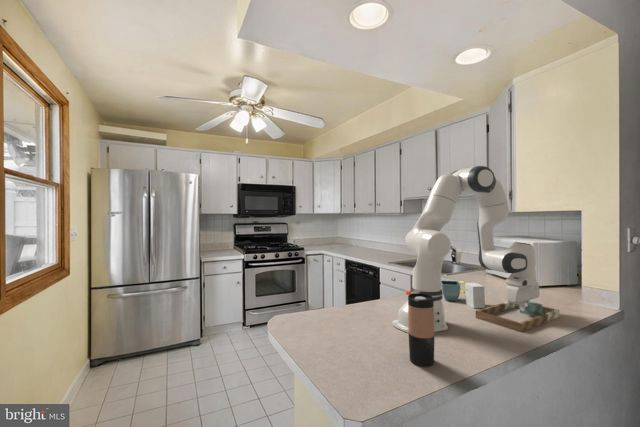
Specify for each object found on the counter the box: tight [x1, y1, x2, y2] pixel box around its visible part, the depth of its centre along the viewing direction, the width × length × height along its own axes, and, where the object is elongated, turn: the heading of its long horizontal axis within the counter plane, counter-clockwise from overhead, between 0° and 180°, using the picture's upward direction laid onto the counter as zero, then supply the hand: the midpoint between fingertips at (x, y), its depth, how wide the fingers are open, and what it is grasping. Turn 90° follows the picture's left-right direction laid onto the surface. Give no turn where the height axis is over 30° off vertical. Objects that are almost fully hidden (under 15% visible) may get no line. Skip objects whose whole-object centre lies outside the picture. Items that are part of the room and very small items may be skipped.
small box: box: [464, 282, 486, 309], centre depth 142 cm, size 8×6×10 cm
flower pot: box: [441, 280, 461, 302], centre depth 153 cm, size 9×9×9 cm
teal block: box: [519, 300, 543, 318], centre depth 131 cm, size 6×6×4 cm
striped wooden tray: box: [475, 301, 560, 333], centre depth 126 cm, size 31×18×3 cm, turn 119°
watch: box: [459, 280, 466, 293], centre depth 168 cm, size 6×3×6 cm, turn 20°
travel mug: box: [407, 293, 435, 368], centre depth 90 cm, size 8×8×20 cm
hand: (524, 310), depth 129 cm, fingers closed
